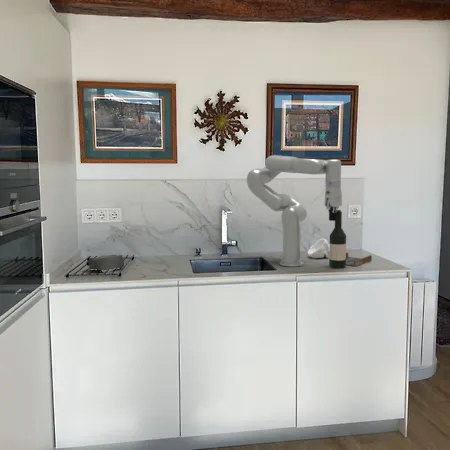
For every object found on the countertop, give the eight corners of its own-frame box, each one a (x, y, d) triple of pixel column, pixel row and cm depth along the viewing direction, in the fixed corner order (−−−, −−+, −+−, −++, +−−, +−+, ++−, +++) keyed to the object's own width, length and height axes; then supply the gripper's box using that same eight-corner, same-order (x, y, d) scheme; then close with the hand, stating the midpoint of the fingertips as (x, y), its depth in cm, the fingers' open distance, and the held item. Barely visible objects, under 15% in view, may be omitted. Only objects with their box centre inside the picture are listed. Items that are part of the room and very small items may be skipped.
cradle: (329, 263, 243) (330, 257, 242) (346, 257, 258) (346, 252, 257) (355, 266, 233) (355, 261, 233) (371, 260, 248) (371, 255, 247)
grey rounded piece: (117, 265, 243) (117, 251, 242) (128, 269, 235) (127, 254, 234) (86, 271, 231) (85, 256, 230) (95, 274, 223) (95, 259, 222)
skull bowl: (340, 256, 256) (329, 238, 253) (320, 269, 254) (309, 252, 252) (332, 252, 266) (322, 236, 263) (313, 266, 265) (303, 249, 262)
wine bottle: (346, 268, 228) (347, 210, 225) (329, 268, 230) (330, 210, 227) (345, 265, 237) (346, 209, 233) (329, 264, 238) (329, 209, 235)
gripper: (332, 184, 215) (331, 222, 218) (346, 184, 226) (346, 219, 229) (318, 184, 221) (318, 221, 223) (333, 183, 231) (333, 218, 234)
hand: (332, 220), depth 226 cm, fingers closed
